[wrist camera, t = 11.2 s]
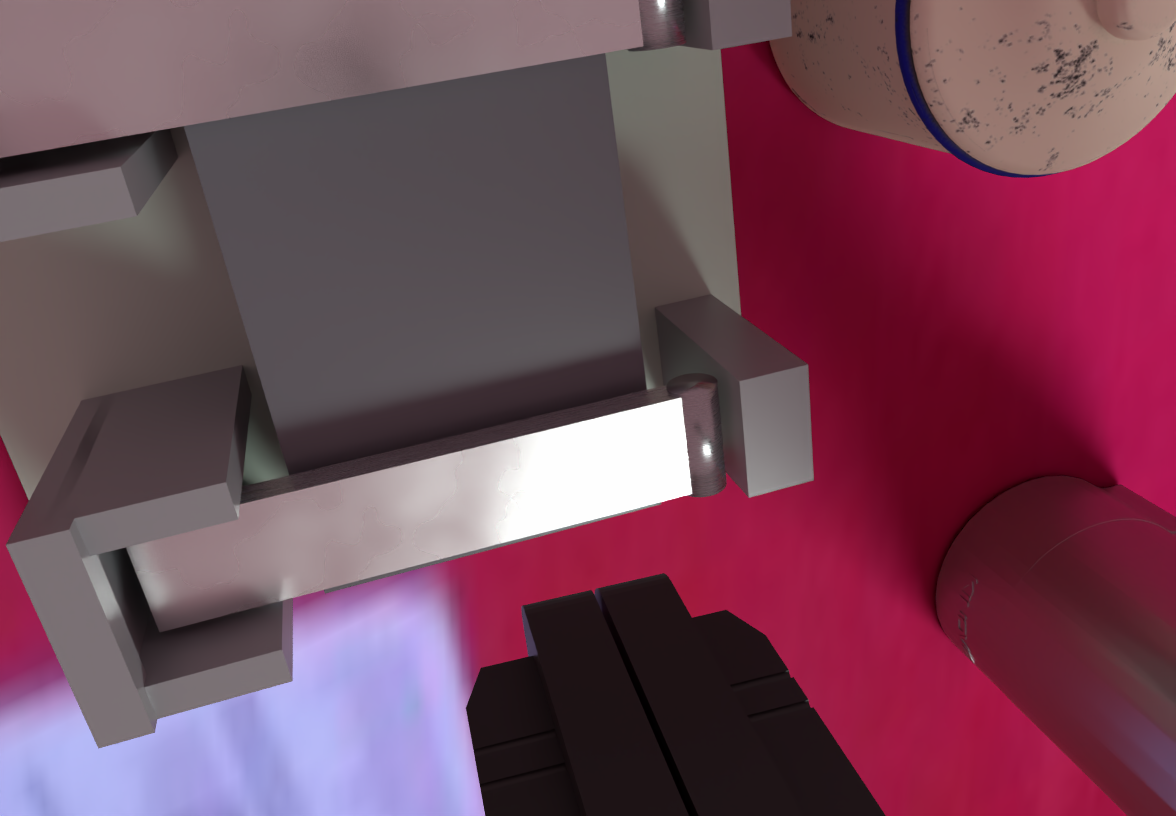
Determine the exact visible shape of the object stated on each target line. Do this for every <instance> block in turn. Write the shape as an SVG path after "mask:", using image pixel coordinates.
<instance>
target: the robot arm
mask: <svg viewBox="0 0 1176 816" xmlns="http://www.w3.org/2000/svg"><path fill="white" fill-rule="evenodd" d="M935 599H936V608H937V616H938V619H939V621H940V624H941V626H942V629H943V631H944V632H945V634H946V635H947V636H948V637H949V639H950V640H951V641H952V642H953V644H955V645H956V646H957V647H958V648H959V649H960V650H961V651H962V652H963V653H964V654H965V655H966V656H967V657H968V658H969V659H970V660H971V661H972V662H973V663H974V664H975V665H976V666H977V667H978V668H979V669H980V670H981V671H982V672H983V673H984V674H985V675H986V676H987V677H988V678H989V679H990V680H991V681H992V682H993V683H994V684H995V685H996V686H997V687H998V688H999V689H1000V690H1001V691H1002V692H1003V693H1004V694H1005V695H1006V696H1007V697H1008V698H1009V699H1010V700H1011V701H1012V702H1013V703H1014V704H1015V705H1016V706H1017V707H1018V708H1019V709H1020V710H1021V711H1022V712H1023V713H1024V714H1025V715H1026V716H1027V717H1028V718H1029V719H1030V720H1031V721H1032V722H1033V723H1034V724H1035V725H1036V726H1037V727H1038V728H1039V729H1040V730H1041V731H1042V732H1043V733H1044V734H1045V735H1046V736H1047V737H1048V738H1049V739H1050V740H1051V741H1052V742H1053V743H1054V744H1055V745H1056V746H1057V747H1058V748H1059V749H1060V750H1061V751H1062V752H1063V753H1065V754H1066V755H1067V756H1068V757H1069V758H1070V759H1071V760H1072V761H1073V762H1074V763H1075V764H1076V765H1077V766H1078V767H1079V768H1080V769H1081V770H1082V771H1083V772H1084V773H1085V774H1086V775H1087V776H1088V777H1089V778H1090V779H1091V780H1092V781H1093V782H1094V783H1095V784H1096V785H1097V786H1098V787H1099V788H1100V789H1101V790H1102V791H1103V792H1104V793H1105V794H1106V795H1107V796H1108V797H1109V798H1110V799H1111V800H1112V801H1113V802H1114V803H1115V804H1116V805H1117V806H1118V807H1119V808H1120V809H1121V810H1122V811H1123V812H1124V813H1125V814H1126V815H1127V816H1176V517H1175V516H1173V515H1171V514H1170V513H1168V512H1166V511H1164V510H1163V509H1161V508H1159V507H1158V506H1156V505H1154V504H1153V503H1151V502H1149V501H1148V500H1146V499H1144V498H1143V497H1141V496H1139V495H1138V494H1136V493H1134V492H1133V491H1131V490H1129V489H1128V488H1126V487H1124V486H1123V485H1116V486H1112V487H1109V488H1100V487H1097V486H1095V485H1093V484H1091V483H1089V482H1087V481H1085V480H1083V479H1080V478H1075V477H1069V476H1046V477H1041V478H1038V479H1034V480H1030V481H1027V482H1024V483H1022V484H1020V485H1017V486H1015V487H1013V488H1011V489H1009V490H1007V491H1005V492H1003V493H1002V494H1001V495H999V496H998V497H996V498H995V499H993V500H992V501H991V502H989V503H988V504H986V505H985V506H984V507H983V508H982V509H981V510H980V511H979V512H978V513H977V514H976V515H975V516H974V517H973V518H971V519H970V520H969V521H968V523H967V524H966V525H965V527H964V528H963V529H962V531H961V532H960V533H959V535H958V536H957V537H956V538H955V540H954V542H953V544H952V546H951V547H950V549H949V551H948V553H947V555H946V557H945V559H944V561H943V564H942V567H941V570H940V573H939V576H938V580H937V589H936V597H935ZM522 618H523V625H524V631H525V637H526V643H527V649H528V656H529V657H526V658H521V659H517V660H513V661H509V662H504V663H500V664H496V665H492V666H487V667H483V668H481V669H480V672H479V675H478V677H477V680H476V683H475V685H474V688H473V691H472V693H471V696H470V699H469V701H468V704H467V707H466V711H467V716H468V722H469V727H470V733H471V738H472V744H473V749H474V755H475V761H476V766H477V772H478V777H479V783H480V788H481V794H482V799H483V805H484V811H485V816H885V814H884V813H883V811H882V810H881V808H880V807H879V805H878V804H877V802H876V801H875V799H874V798H873V796H872V795H871V793H870V792H869V790H868V789H867V787H866V786H865V784H864V783H863V781H862V780H861V778H860V777H859V775H858V774H857V772H856V771H855V769H854V767H853V766H852V764H851V763H850V761H849V760H848V758H847V757H846V755H845V754H844V752H843V751H842V749H841V748H840V746H839V745H838V743H837V742H836V740H835V739H834V737H833V736H832V734H831V733H830V731H829V730H828V728H827V727H826V725H825V724H824V722H823V721H822V719H821V718H820V716H819V715H818V713H817V712H816V710H815V709H814V707H813V708H811V707H810V705H809V701H808V698H807V697H806V695H805V694H804V692H803V691H802V689H801V688H800V686H799V685H798V683H797V682H796V680H795V679H794V677H793V678H791V677H790V674H789V670H788V668H787V667H786V665H785V664H784V662H783V661H782V659H781V658H780V656H779V655H778V653H777V652H776V650H775V649H774V647H773V646H772V644H771V643H770V641H769V640H768V638H767V637H766V635H764V634H763V633H761V632H760V631H758V630H757V629H755V628H753V627H752V626H750V625H749V624H747V623H746V622H744V621H743V620H741V619H739V618H738V617H736V616H735V615H733V614H732V613H730V612H729V611H727V610H724V611H719V612H715V613H711V614H707V615H702V616H698V617H694V618H692V617H691V616H690V614H689V612H688V610H687V609H686V607H685V605H684V603H683V601H682V600H681V598H680V596H679V594H678V593H677V591H676V589H675V587H674V586H673V584H672V582H671V580H670V579H669V577H668V576H667V575H666V574H664V573H663V574H659V575H655V576H650V577H646V578H641V579H637V580H633V581H628V582H624V583H619V584H615V585H611V586H606V587H602V588H597V589H596V590H595V595H594V593H593V592H592V591H591V590H590V591H585V592H581V593H577V594H572V595H568V596H563V597H559V598H554V599H550V600H546V601H541V602H537V603H532V604H528V605H524V606H522Z"/></svg>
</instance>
